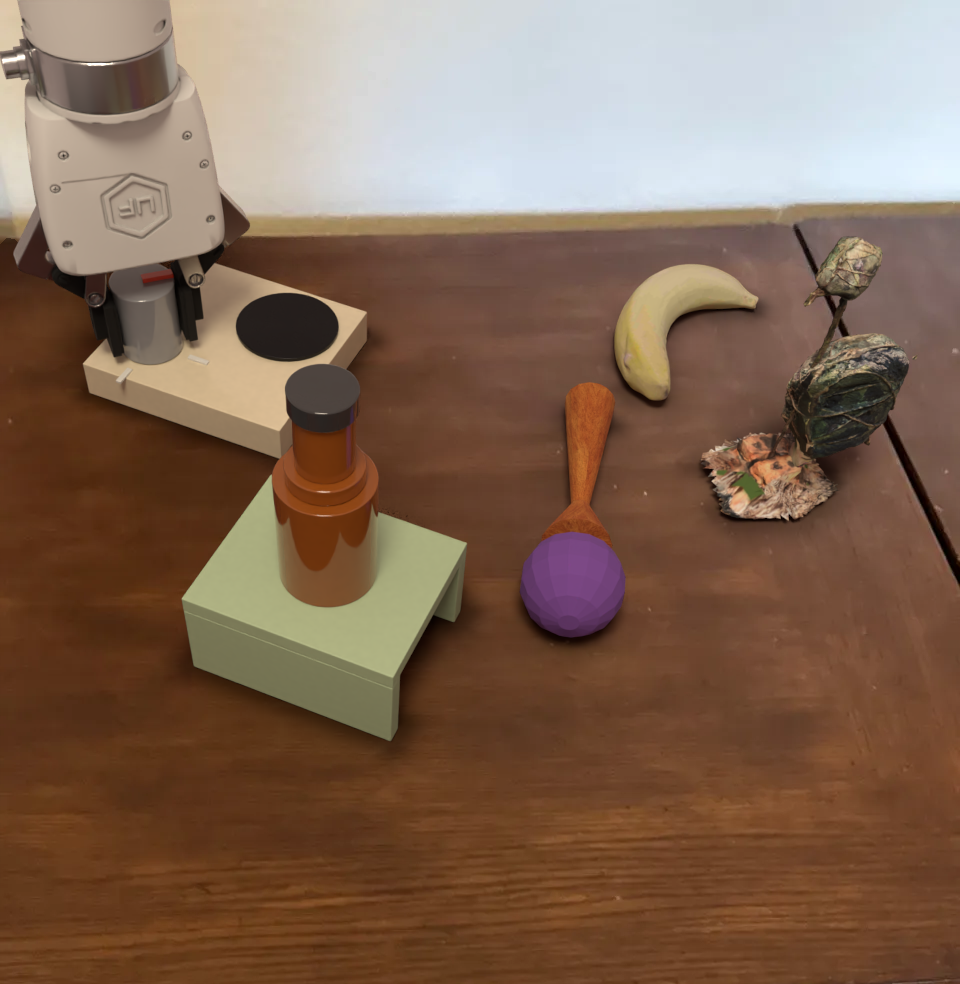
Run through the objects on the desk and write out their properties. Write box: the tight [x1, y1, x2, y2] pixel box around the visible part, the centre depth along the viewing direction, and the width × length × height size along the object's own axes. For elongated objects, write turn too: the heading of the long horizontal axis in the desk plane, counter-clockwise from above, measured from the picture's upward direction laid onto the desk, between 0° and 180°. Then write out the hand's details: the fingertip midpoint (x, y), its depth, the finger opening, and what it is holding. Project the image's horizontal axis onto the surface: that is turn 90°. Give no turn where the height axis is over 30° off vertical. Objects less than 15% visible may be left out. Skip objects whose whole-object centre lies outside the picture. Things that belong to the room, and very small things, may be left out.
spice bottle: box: [271, 364, 380, 607], centre depth 62 cm, size 5×5×13 cm
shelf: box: [181, 474, 468, 742], centre depth 69 cm, size 12×10×6 cm
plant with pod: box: [699, 235, 918, 522], centre depth 74 cm, size 8×11×20 cm
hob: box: [82, 262, 368, 460], centre depth 84 cm, size 15×14×3 cm
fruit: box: [613, 263, 759, 401], centre depth 89 cm, size 7×15×3 cm, turn 145°
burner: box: [236, 293, 339, 362], centre depth 84 cm, size 7×7×1 cm
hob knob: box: [107, 263, 183, 365], centre depth 80 cm, size 4×4×5 cm
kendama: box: [519, 381, 627, 638], centre depth 76 cm, size 6×6×20 cm
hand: (150, 333), depth 81 cm, fingers closed on hob knob, 4 cm apart
